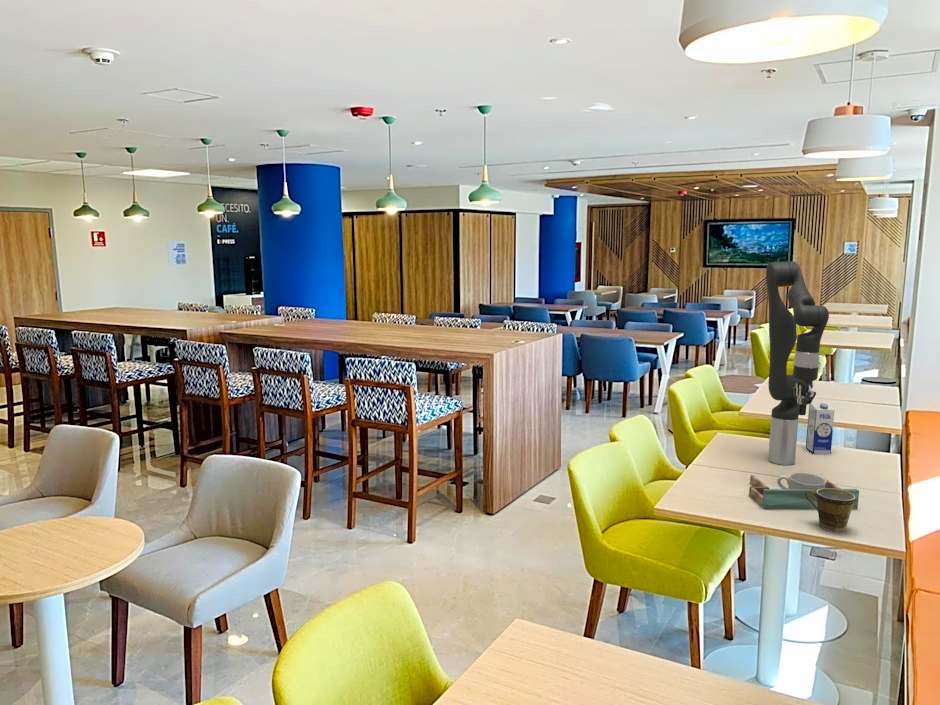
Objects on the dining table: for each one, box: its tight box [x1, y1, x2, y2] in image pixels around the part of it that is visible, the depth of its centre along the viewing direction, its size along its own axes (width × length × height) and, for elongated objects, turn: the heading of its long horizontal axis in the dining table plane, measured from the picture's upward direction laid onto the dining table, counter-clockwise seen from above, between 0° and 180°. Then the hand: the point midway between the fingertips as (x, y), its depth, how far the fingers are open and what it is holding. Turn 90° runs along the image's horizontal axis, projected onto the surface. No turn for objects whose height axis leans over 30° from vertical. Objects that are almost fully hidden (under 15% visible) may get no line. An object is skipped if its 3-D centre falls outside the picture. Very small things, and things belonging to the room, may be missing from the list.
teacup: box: [776, 471, 826, 489], centre depth 218 cm, size 14×11×8 cm
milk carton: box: [805, 401, 835, 455], centre depth 269 cm, size 7×7×20 cm
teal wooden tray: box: [748, 474, 860, 510], centre depth 223 cm, size 23×29×6 cm
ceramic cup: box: [805, 488, 855, 532], centre depth 199 cm, size 13×10×10 cm
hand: (801, 414), depth 232 cm, fingers closed
